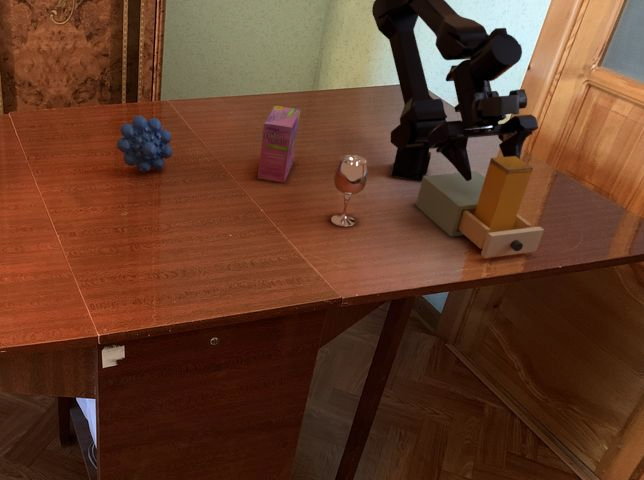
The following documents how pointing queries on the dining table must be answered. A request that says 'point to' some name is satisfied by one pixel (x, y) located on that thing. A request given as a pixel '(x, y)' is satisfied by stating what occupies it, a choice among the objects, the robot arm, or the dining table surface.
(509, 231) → the drawer
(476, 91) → the robot arm
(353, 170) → the wineglass
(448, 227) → the cabinet
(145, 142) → the blue knobby rounded piece
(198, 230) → the dining table surface
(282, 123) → the box
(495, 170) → the carton
